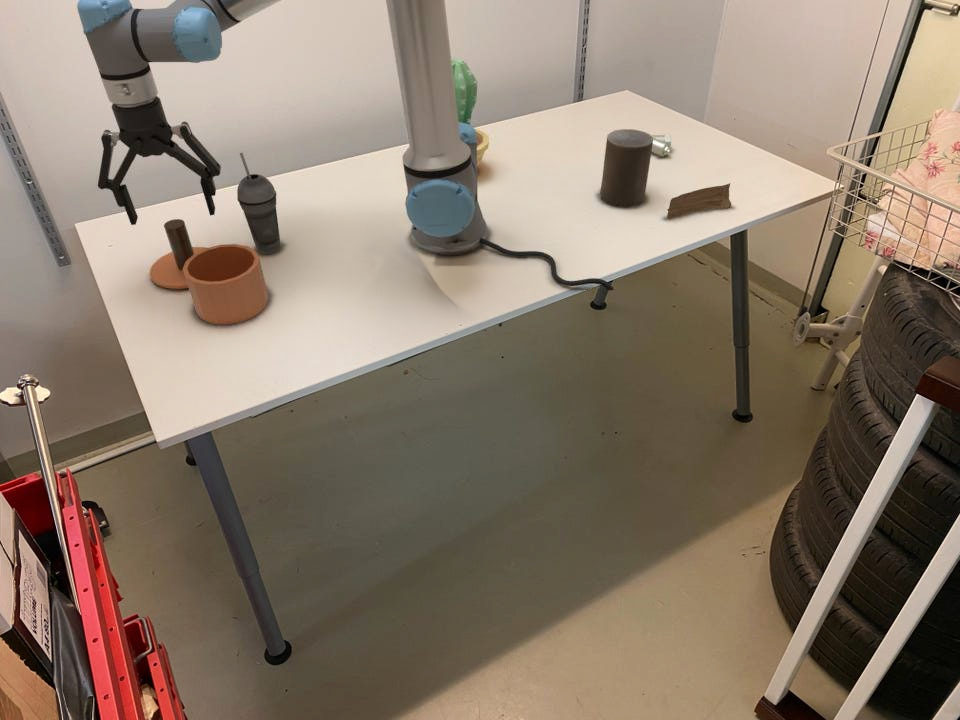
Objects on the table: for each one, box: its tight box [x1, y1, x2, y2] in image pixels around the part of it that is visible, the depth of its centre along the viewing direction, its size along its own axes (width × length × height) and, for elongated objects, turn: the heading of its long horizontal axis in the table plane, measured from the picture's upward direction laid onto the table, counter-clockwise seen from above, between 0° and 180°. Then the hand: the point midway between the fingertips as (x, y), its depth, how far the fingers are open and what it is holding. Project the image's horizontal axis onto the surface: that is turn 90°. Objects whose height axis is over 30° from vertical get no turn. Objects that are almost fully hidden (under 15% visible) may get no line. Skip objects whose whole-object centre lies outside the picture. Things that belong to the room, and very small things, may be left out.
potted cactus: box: [451, 58, 490, 167], centre depth 161 cm, size 15×16×25 cm
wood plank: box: [666, 183, 732, 219], centre depth 152 cm, size 15×2×5 cm, turn 113°
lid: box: [149, 218, 207, 290], centre depth 135 cm, size 14×14×10 cm
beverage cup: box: [236, 152, 281, 255], centre depth 138 cm, size 7×7×20 cm
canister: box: [183, 243, 269, 325], centre depth 127 cm, size 13×13×8 cm
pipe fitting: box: [650, 134, 672, 158], centre depth 176 cm, size 8×4×7 cm
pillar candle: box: [599, 128, 653, 208], centre depth 155 cm, size 10×10×15 cm
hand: (174, 216), depth 131 cm, fingers open, 13 cm apart
